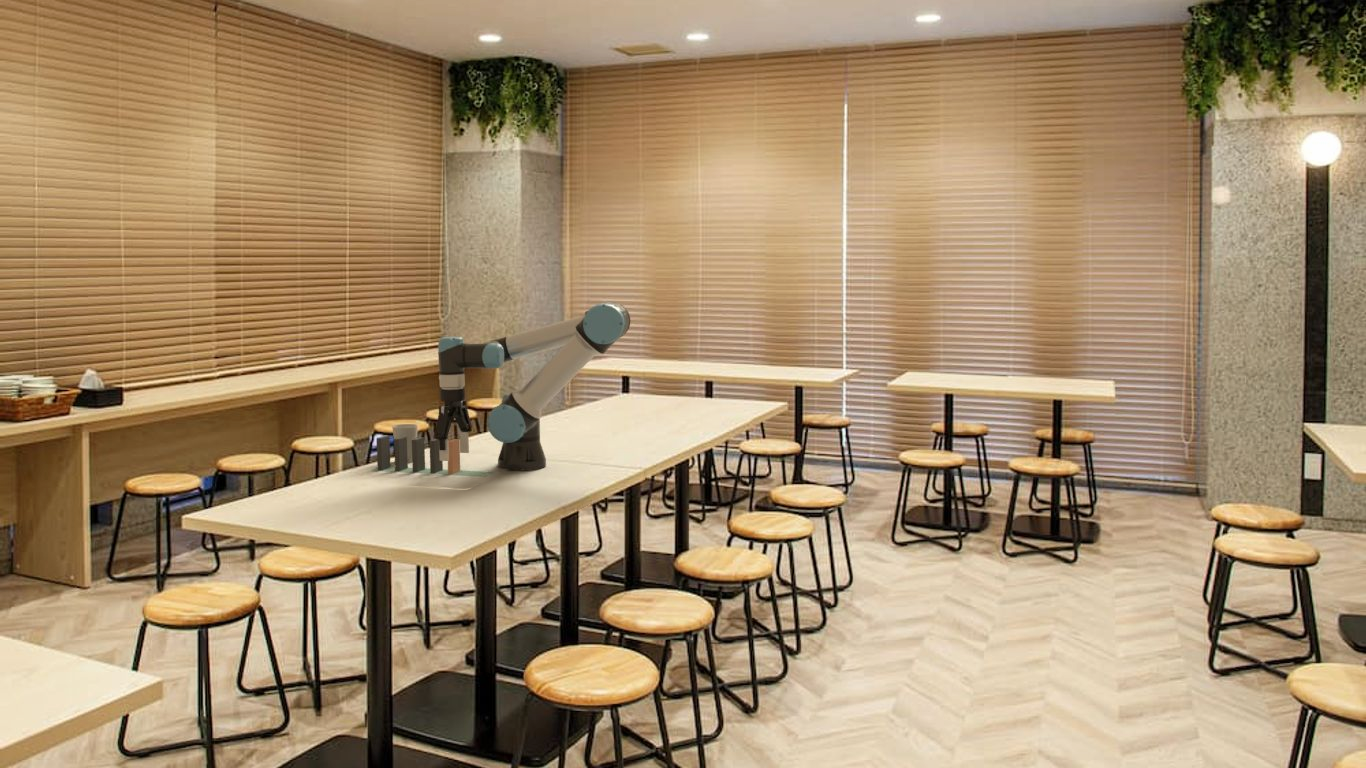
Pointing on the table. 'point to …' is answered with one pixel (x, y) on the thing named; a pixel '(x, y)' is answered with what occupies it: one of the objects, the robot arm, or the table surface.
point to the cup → (408, 432)
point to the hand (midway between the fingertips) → (454, 456)
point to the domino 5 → (454, 456)
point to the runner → (444, 472)
